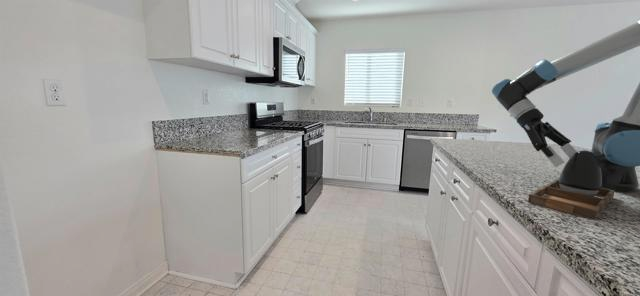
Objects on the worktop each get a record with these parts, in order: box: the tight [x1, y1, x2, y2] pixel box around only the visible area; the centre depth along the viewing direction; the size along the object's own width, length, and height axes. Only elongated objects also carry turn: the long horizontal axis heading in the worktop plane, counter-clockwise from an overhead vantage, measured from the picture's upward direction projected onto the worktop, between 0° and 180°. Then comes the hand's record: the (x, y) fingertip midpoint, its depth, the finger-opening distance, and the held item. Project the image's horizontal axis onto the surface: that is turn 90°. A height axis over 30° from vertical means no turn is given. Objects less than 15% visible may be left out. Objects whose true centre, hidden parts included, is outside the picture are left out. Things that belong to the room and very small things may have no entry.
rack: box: [527, 178, 616, 221], centre depth 84 cm, size 29×15×2 cm, turn 126°
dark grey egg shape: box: [558, 149, 605, 197], centre depth 87 cm, size 10×10×15 cm
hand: (569, 162), depth 89 cm, fingers open, 13 cm apart
